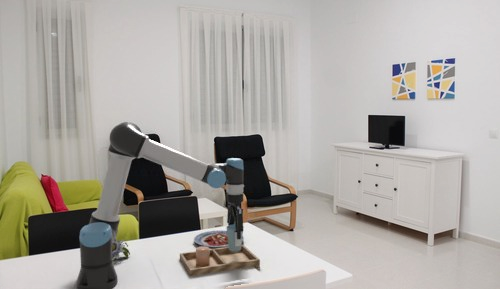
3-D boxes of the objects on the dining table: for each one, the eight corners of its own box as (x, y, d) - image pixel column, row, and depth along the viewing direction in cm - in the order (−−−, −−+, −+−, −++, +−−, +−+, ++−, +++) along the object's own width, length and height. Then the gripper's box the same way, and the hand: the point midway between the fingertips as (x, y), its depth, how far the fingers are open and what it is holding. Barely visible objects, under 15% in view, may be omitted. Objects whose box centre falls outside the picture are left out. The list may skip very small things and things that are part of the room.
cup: (246, 250, 183) (246, 228, 181) (230, 253, 179) (230, 230, 178) (239, 245, 189) (239, 223, 188) (224, 247, 186) (224, 225, 185)
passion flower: (111, 272, 185) (94, 254, 182) (115, 259, 196) (99, 241, 192) (131, 259, 185) (114, 240, 181) (135, 246, 195) (119, 228, 191)
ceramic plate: (184, 241, 213) (184, 235, 212) (222, 231, 230) (222, 226, 230) (214, 255, 194) (214, 248, 193) (254, 242, 211) (254, 237, 211)
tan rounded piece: (197, 267, 175) (197, 252, 175) (194, 262, 181) (194, 247, 180) (211, 265, 178) (211, 250, 177) (207, 260, 183) (207, 245, 182)
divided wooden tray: (190, 278, 167) (190, 270, 167) (179, 260, 186) (179, 253, 185) (259, 267, 179) (259, 259, 178) (243, 252, 197) (243, 245, 197)
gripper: (251, 197, 174) (251, 249, 176) (235, 188, 193) (235, 235, 195) (234, 198, 171) (234, 251, 173) (220, 189, 190) (220, 236, 192)
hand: (235, 242), depth 184 cm, fingers closed on cup, 7 cm apart
